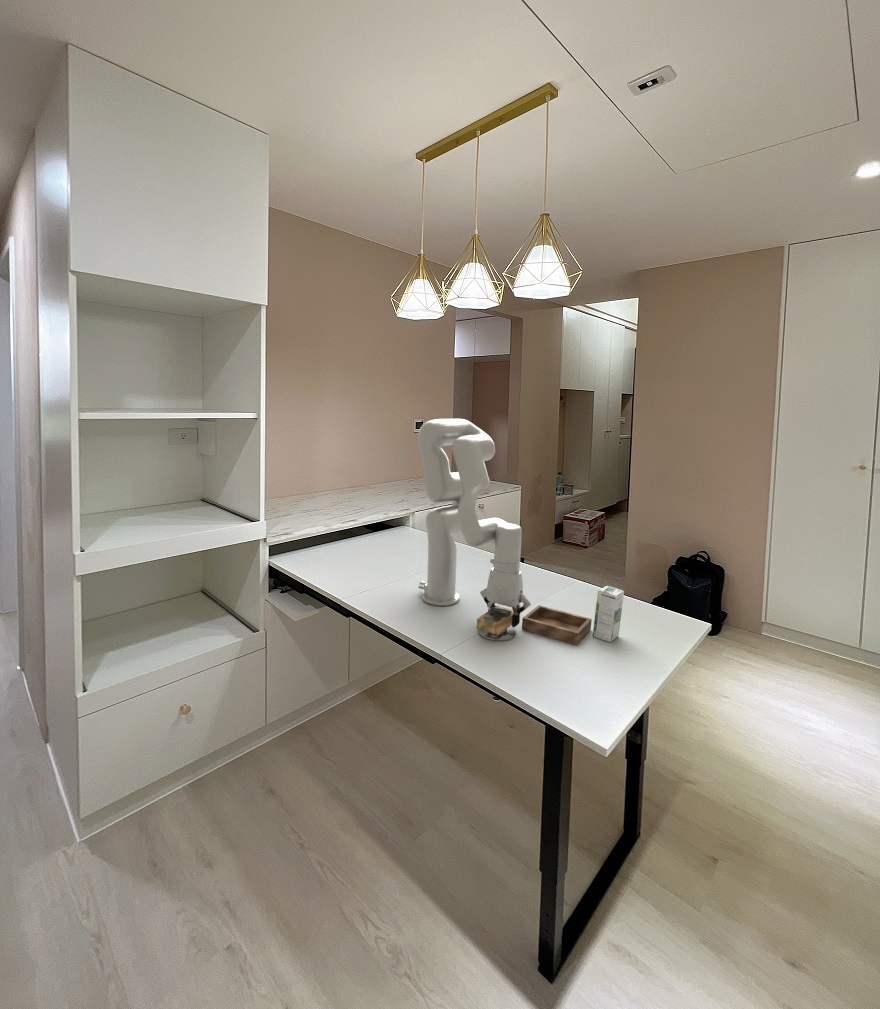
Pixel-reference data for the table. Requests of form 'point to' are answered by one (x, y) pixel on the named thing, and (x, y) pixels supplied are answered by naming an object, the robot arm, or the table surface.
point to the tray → (557, 624)
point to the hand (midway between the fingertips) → (503, 622)
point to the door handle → (497, 616)
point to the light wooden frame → (493, 627)
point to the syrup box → (608, 613)
